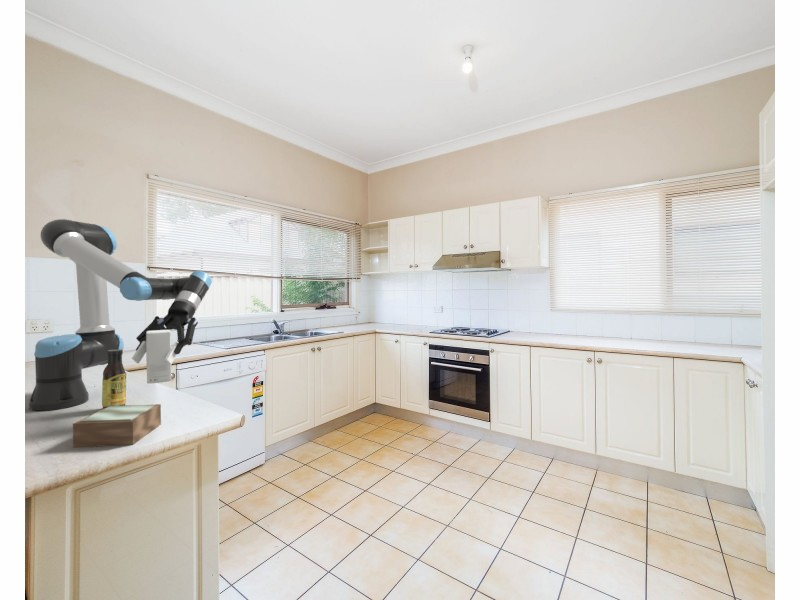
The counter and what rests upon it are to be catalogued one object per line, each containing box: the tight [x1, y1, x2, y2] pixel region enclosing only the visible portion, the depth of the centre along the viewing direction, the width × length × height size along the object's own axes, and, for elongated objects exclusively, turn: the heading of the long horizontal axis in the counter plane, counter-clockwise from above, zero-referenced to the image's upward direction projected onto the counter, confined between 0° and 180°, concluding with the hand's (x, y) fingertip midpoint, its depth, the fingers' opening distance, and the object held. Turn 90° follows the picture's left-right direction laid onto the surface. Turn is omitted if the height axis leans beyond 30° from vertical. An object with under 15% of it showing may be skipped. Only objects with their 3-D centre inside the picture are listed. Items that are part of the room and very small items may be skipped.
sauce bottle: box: [101, 349, 127, 410], centre depth 121 cm, size 6×6×20 cm
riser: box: [72, 403, 162, 448], centre depth 100 cm, size 14×14×6 cm
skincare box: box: [145, 330, 172, 384], centre depth 114 cm, size 8×7×16 cm
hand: (151, 361), depth 111 cm, fingers closed on skincare box, 10 cm apart
